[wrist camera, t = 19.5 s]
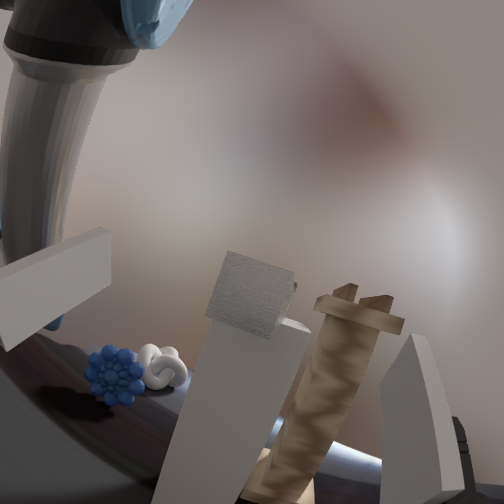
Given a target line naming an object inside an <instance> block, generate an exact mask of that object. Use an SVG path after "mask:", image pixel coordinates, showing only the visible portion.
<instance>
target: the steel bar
mask: <svg viewBox="0 0 504 504" xmlns="http://www.w3.org/2000/svg"><path fill="white" fill-rule="evenodd" d="M296 288H297V283H295V282H294V274H293V272H291V271H288V270H285V269H282V268H279V267H276V266H273V265H270V264H267V263H264V262H261V261H258V260H255V259H251V258H249V257H245V256H242V255H239V254H236V253H233V252H230V251H228V252H227V254H226V257H225V260H224V262H223V265H222V268H221V271H220V273H219V277H218V279H217V282H216V285H215V288H214V290H213V293H212V296H211V299H210V302H209V305H208V307H207V310H206V313H205V315H206V316H208V317H211V318H213V319H216V320H218V321H221V322H223V323H226V324H228V325H231V326H234V327H236V328H239V329H242V330H244V331H247V332H250V333H253V334H255V335H258V336H261V337H264V338H267V339H269V340H270V339H271V337H272V336H273V335H274V333H275V332H276V331H277V329H278V328H279V327H280V325H281V324H282V323H283V321H284V320H285V318H286V316H287V314H288V311H289V308H290V305H291V303H292V300H293V297H294V294H295V291H296Z"/></svg>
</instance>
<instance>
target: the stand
mask: <svg viewBox="0 0 504 504" xmlns="http://www.w3.org/2000/svg"><path fill="white" fill-rule="evenodd" d="M357 288H358V285H355V284H352V283H349V284H347V285H345V286H342V287H340V288H338V289H335V290H334V292H333V295H332V296H331V295H328V294H326V295H323V296H321V297H318V298H317V300H316V303H315V306H314V309H313V310H316V311H319V312H322V313H325V314H326V316H325V319H324V322H323V325H322V328H321V330H320V333H319V336H318V339H317V342H316V345H315V347H314V350H313V352H312V355H311V357H310V360H309V363H308V366H307V368H306V370H305V373H304V375H303V378H302V380H301V383H300V385H299V388H298V390H297V392H296V395H295V397H294V399H293V402H292V404H291V406H290V409H289V411H288V413H287V416H286V418H285V420H284V422H283V424H282V426H281V429H280V431H279V433H278V435H277V437H276V439H275V441H274V443H273V445H272V447H271V449H270V450H269V449H266V448H263V450H262V452H261V454H260V456H259V458H258V460H257V462H256V464H255V466H254V468H253V470H252V472H251V474H250V476H249V478H248V480H247V481H246V483H245V485H244V487H243V490H242V493H241V495H240V498H242V499H245V500H248V501H252V502H255V503H259V504H315V503H314V487H313V477H314V475H315V473H316V472H317V470H318V468H319V466H320V465H321V463H322V461H323V459H324V458H325V456H326V454H327V452H328V450H329V448H330V447H331V445H332V443H333V441H334V439H335V437H336V435H337V433H338V431H339V429H340V427H341V425H342V423H343V421H344V419H345V417H346V415H347V413H348V410H349V408H350V406H351V404H352V402H353V399H354V397H355V395H356V392H357V390H358V388H359V385H360V383H361V380H362V378H363V376H364V373H365V370H366V368H367V365H368V363H369V360H370V357H371V355H372V352H373V349H374V347H375V344H376V341H377V338H378V335H379V332H380V330H381V331H385V332H388V333H392V334H396V335H400V333H401V330H402V327H403V323H404V320H405V319H403V318H400V317H397V316H394V315H390V314H389V312H390V309H391V305H392V302H393V299H394V297H392V296H389V295H382V296H374V297H368V298H360V301H359V304H355V303H353V302H354V298H355V295H356V292H357Z"/></svg>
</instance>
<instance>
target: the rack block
mask: <svg viewBox="0 0 504 504" xmlns="http://www.w3.org/2000/svg"><path fill="white" fill-rule="evenodd" d="M310 335H311V332H310V330H309V329H308V327H307V325H306V324H303V323H300V322H297V321H294V320H291V319H288V318H285V320H284V321H283V323H282V324H281V325H280V327H279V328H278V329H277V331H276V332H275V333H274V335H273V336H272V337H271V339H270V340H269V339H267V338H264V337H261V336H258V335H255V334H253V333H250V332H247V331H244V330H242V329H239V328H236V327H234V326H231V325H228V324H226V323H223V322H221V321H218V320H216V319H213V318H212V321H211V324H210V327H209V330H208V332H207V335H206V339H205V341H204V344H203V347H202V350H201V353H200V356H199V359H198V361H197V364H196V367H195V370H194V373H193V376H192V379H191V382H190V385H189V388H188V391H187V394H186V397H185V400H184V403H183V406H182V409H181V412H180V415H179V418H178V421H177V424H176V427H175V430H174V433H173V436H172V439H171V442H170V445H169V448H168V451H167V454H166V458H165V461H164V464H163V467H162V470H161V473H160V476H159V479H158V483H157V486H156V489H155V492H154V495H153V499H152V502H151V504H235V502H236V500H237V498H238V496H239V494H240V493H241V491H242V489H243V487H244V485H245V483H246V481H247V480H248V478H249V476H250V474H251V472H252V470H253V468H254V466H255V464H256V462H257V460H258V458H259V456H260V454H261V452H262V450H263V448H264V445H265V443H266V441H267V439H268V437H269V435H270V433H271V431H272V428H273V426H274V424H275V422H276V420H277V417H278V415H279V413H280V410H281V408H282V406H283V404H284V401H285V399H286V396H287V394H288V392H289V389H290V387H291V384H292V382H293V379H294V377H295V375H296V372H297V369H298V367H299V364H300V362H301V359H302V356H303V354H304V351H305V348H306V346H307V343H308V340H309V337H310Z"/></svg>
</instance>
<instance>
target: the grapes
mask: <svg viewBox="0 0 504 504" xmlns="http://www.w3.org/2000/svg"><path fill="white" fill-rule="evenodd" d="M133 360H134V354H133V352H132V351H131V350H129V349H127V348H124V349H121V350H119V351H117V349H116V347H115V346H113V345H106V346H105V347H103V349H102V350H101V353H99V352H94V353H92V354H91V355H90V357H89V363H90V365H91V366H92V367H89V368H87V369H86V371H85V377H86V379H87V380H88V381H90V382H94V383H92V384H91V386H90V392H91V393H92V394H93V395H94V396H96V397H101V396H103V401H104V403H105V404H106V405H108V406H115V405H117V404H118V402H119V403H120V404H121V405H123V406H130V405H131V404H133V402H134V395H140V394H142V393H143V392H144V389H145V385H144V383H143V382H142V381H141V380H139V379H140V378H141V377H143V375H144V373H145V368H144V366H143V365H142V364H141V363H139V362H133ZM132 362H133V363H132Z"/></svg>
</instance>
